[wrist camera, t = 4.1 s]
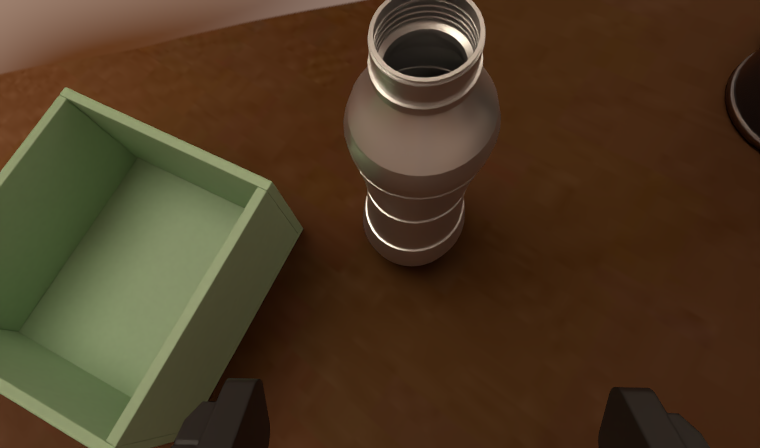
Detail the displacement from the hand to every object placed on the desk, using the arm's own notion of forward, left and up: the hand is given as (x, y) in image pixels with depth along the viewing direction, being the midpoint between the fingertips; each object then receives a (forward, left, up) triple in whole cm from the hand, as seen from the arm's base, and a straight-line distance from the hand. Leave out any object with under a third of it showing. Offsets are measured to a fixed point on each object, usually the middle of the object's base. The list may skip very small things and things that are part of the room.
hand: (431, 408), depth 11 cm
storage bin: (+1, -19, -20) cm, 28 cm away
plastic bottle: (-10, -5, -21) cm, 23 cm away
